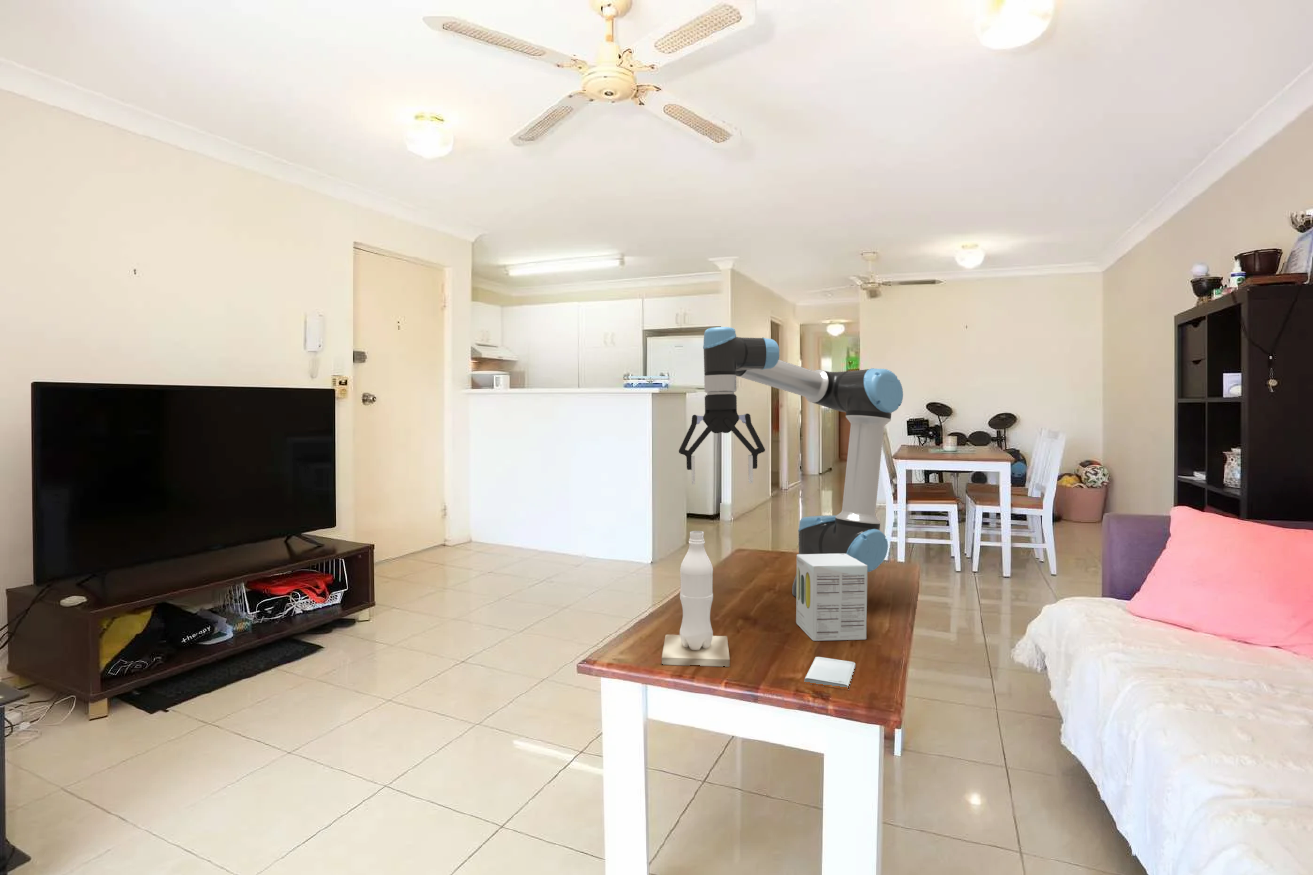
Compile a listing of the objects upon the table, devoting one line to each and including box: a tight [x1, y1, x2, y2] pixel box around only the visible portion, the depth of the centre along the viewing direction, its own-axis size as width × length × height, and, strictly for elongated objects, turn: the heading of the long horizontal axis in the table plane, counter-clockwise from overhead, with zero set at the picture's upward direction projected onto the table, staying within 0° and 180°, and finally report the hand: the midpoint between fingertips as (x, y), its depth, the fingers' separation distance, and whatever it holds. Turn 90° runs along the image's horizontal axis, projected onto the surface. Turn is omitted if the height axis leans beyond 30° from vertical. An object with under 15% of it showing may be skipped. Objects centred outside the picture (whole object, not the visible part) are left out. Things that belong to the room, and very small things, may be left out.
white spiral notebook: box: [804, 656, 856, 688], centre depth 127 cm, size 2×8×12 cm
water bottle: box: [679, 530, 714, 650], centre depth 138 cm, size 7×7×25 cm
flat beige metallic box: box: [661, 634, 731, 668], centre depth 139 cm, size 14×14×2 cm
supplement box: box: [795, 553, 868, 642], centre depth 153 cm, size 13×13×18 cm
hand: (722, 483), depth 152 cm, fingers open, 13 cm apart
